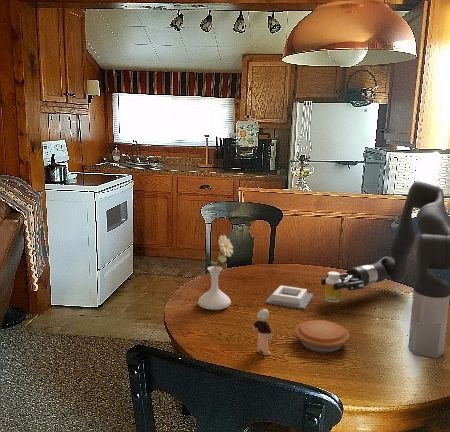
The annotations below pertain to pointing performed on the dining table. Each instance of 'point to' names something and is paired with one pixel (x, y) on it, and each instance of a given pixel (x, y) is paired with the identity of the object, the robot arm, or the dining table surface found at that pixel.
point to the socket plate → (290, 297)
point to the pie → (322, 335)
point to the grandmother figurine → (263, 331)
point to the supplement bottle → (332, 287)
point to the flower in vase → (214, 296)
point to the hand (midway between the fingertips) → (328, 284)
